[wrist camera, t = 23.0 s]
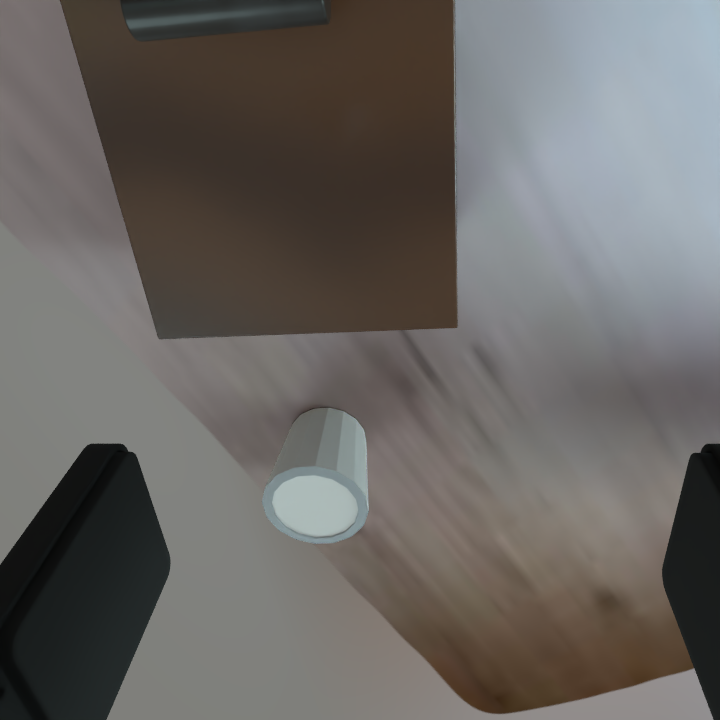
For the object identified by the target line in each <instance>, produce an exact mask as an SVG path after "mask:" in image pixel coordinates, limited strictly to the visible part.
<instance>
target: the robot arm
mask: <svg viewBox="0 0 720 720" xmlns="http://www.w3.org/2000/svg"><path fill="white" fill-rule="evenodd" d="M169 571H170V555H169V552H168V549H167V546H166V543H165V540H164V537H163V534H162V531H161V528H160V525H159V522H158V519H157V516H156V513H155V510H154V507H153V504H152V501H151V498H150V495H149V492H148V489H147V486H146V483H145V480H144V477H143V474H142V471H141V468H140V465H139V462H138V459H137V457H136V455H135V454H134V453H133V452H128V450H127V448H126V447H125V446H124V445H123V444H90V445H87V446H86V447H85V448H84V450H83V451H82V452H81V454H80V455H79V456H78V458H77V459H76V460H75V462H74V463H73V465H72V466H71V468H70V469H69V470H68V472H67V473H66V474H65V476H64V477H63V478H62V480H61V481H60V483H59V484H58V486H57V487H56V488H55V490H54V491H53V492H52V494H51V495H50V497H49V498H48V499H47V501H46V502H45V504H44V505H43V506H42V508H41V509H40V510H39V512H38V513H37V515H36V516H35V518H34V519H33V520H32V522H31V523H30V524H29V526H28V527H27V528H26V530H25V531H24V533H23V534H22V535H21V537H20V538H19V540H18V541H17V542H16V544H15V545H14V546H13V548H12V549H11V551H10V552H9V553H8V555H7V556H6V558H5V559H4V561H3V562H2V563H1V565H0V720H106V719H107V717H108V715H109V712H110V710H111V708H112V705H113V703H114V700H115V698H116V696H117V694H118V691H119V689H120V687H121V684H122V682H123V680H124V677H125V675H126V673H127V670H128V668H129V666H130V664H131V661H132V659H133V657H134V654H135V652H136V650H137V647H138V645H139V643H140V640H141V638H142V636H143V633H144V631H145V629H146V626H147V624H148V622H149V620H150V617H151V615H152V613H153V610H154V608H155V606H156V603H157V601H158V599H159V596H160V594H161V592H162V589H163V587H164V585H165V582H166V580H167V578H168V575H169ZM662 577H663V584H664V588H665V591H666V594H667V597H668V599H669V602H670V605H671V607H672V610H673V613H674V615H675V618H676V621H677V623H678V626H679V629H680V631H681V634H682V637H683V639H684V642H685V645H686V647H687V650H688V653H689V655H690V658H691V660H692V663H693V666H694V668H695V671H696V674H697V676H698V679H699V682H700V684H701V687H702V690H703V692H704V695H705V698H706V700H707V703H708V706H709V708H710V711H711V714H712V716H713V719H714V720H720V444H706V445H705V446H704V447H703V448H702V450H701V453H693V454H692V455H691V456H690V459H689V462H688V466H687V470H686V475H685V479H684V483H683V487H682V491H681V495H680V499H679V503H678V507H677V511H676V515H675V519H674V523H673V527H672V531H671V535H670V539H669V543H668V547H667V551H666V555H665V559H664V563H663V568H662Z"/></svg>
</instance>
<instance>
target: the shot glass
mask: <svg viewBox="0 0 720 720" xmlns="http://www.w3.org/2000/svg"><path fill="white" fill-rule="evenodd" d="M262 504H263V507H264V510H265V513H266V516H267V518H268V519H269V520H270V521H271V522H272V523H273V524H274V525H275V527H276V528H277V529H278V530H279V531H281V532H283V533H285V534H287V535H289V536H290V537H292V538H294V539H296V540H301V541H305V542H310V543H314V544H319V543H335V542H338V541H341V540H343V539H346V538H349V537H351V536H353V535H354V534H355V533H356V532H357V531H358V530H359V529H360V528H361V527H363V526H364V523H365V520H366V517H367V514H368V512H369V507H368V477H367V446H366V437H365V432H364V429H363V428H362V426H361V425H360V424H359V422H358V421H357V420H356V419H355V418H354V417H352V416H351V415H349V414H347V413H346V412H344V411H341V410H337V409H333V408H329V407H328V408H316V409H312V410H309V411H307V412H305V413H303V414H301V415H300V416H299V417H298V418H297V419H296V420H295V422H294V423H293V424H292V426H291V428H290V431H289V433H288V435H287V438H286V440H285V442H284V445H283V447H282V449H281V452H280V454H279V456H278V459H277V461H276V463H275V466H274V468H273V470H272V473H271V475H270V477H269V480H268V482H267V484H266V487H265V490H264V495H263V500H262Z"/></svg>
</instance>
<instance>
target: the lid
mask: <svg viewBox="0 0 720 720" xmlns="http://www.w3.org/2000/svg"><path fill="white" fill-rule="evenodd" d="M60 2H61V5H62V9H63V12H64V15H65V19H66V22H67V26H68V29H69V33H70V36H71V40H72V43H73V46H74V50H75V53H76V57H77V60H78V64H79V67H80V70H81V74H82V77H83V81H84V84H85V88H86V91H87V95H88V98H89V101H90V105H91V108H92V112H93V115H94V119H95V122H96V125H97V129H98V132H99V136H100V139H101V143H102V146H103V150H104V153H105V156H106V160H107V163H108V167H109V170H110V174H111V177H112V181H113V184H114V187H115V191H116V194H117V198H118V201H119V205H120V208H121V211H122V215H123V218H124V222H125V225H126V229H127V232H128V236H129V239H130V242H131V246H132V249H133V253H134V256H135V260H136V263H137V266H138V270H139V273H140V277H141V280H142V284H143V287H144V291H145V294H146V297H147V301H148V304H149V308H150V311H151V315H152V318H153V321H154V325H155V328H156V332H157V335H158V338H159V339H177V338H203V337H229V336H256V335H282V334H308V333H334V332H361V331H387V330H413V329H439V328H457V326H458V320H457V192H456V64H455V0H60Z"/></svg>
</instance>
